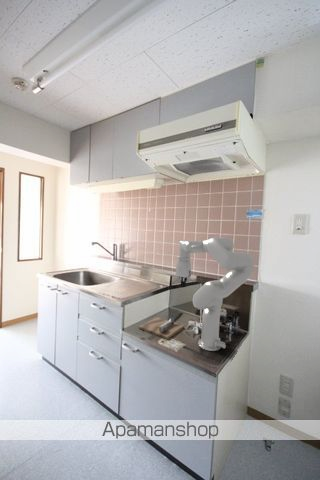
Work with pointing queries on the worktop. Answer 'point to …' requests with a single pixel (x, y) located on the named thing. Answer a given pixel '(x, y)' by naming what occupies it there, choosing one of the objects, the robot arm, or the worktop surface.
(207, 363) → the worktop surface
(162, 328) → the block
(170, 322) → the bar
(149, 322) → the lock board
